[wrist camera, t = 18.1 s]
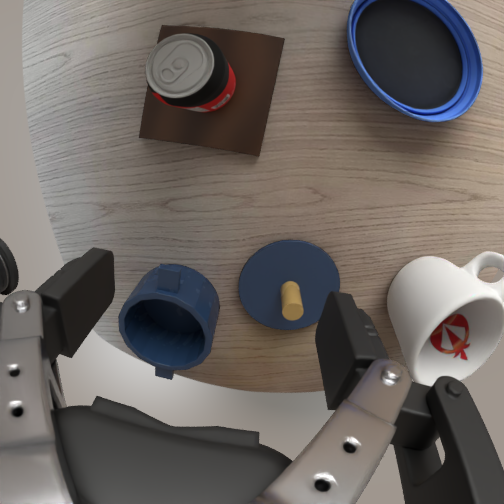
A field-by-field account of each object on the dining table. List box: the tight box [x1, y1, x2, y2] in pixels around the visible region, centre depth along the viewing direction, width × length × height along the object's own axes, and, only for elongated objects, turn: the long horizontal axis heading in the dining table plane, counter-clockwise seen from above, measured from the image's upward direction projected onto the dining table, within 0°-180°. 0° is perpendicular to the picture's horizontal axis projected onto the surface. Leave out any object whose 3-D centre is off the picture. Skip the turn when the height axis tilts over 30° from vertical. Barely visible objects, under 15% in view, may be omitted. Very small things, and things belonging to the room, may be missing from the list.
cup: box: [387, 252, 504, 387], centre depth 32 cm, size 18×14×14 cm
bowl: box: [347, 0, 483, 122], centre depth 25 cm, size 18×18×4 cm
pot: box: [118, 264, 220, 380], centre depth 38 cm, size 12×17×7 cm
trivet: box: [139, 25, 285, 156], centre depth 30 cm, size 14×14×1 cm
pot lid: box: [239, 240, 340, 330], centre depth 36 cm, size 13×13×6 cm
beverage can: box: [145, 33, 236, 112], centre depth 24 cm, size 6×6×12 cm
